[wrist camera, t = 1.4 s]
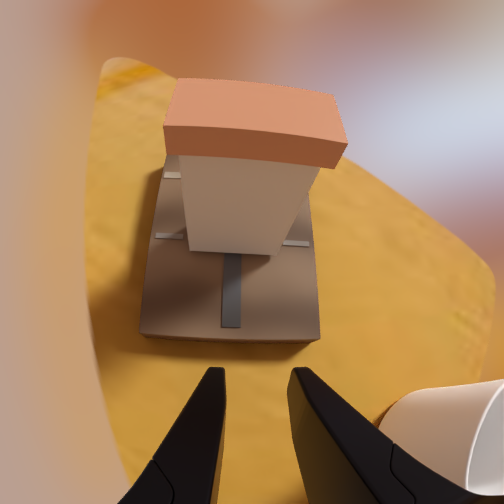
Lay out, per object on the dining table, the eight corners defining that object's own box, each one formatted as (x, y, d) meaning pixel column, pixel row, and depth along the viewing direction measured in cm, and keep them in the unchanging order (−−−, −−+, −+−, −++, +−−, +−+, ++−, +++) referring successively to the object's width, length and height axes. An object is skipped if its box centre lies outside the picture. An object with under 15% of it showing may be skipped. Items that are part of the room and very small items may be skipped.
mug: (391, 522, 15) (470, 560, 5) (356, 421, 19) (454, 434, 9) (458, 469, 17) (541, 477, 7) (433, 371, 21) (528, 350, 11)
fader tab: (282, 261, 21) (348, 143, 10) (183, 255, 20) (163, 125, 10) (280, 220, 22) (333, 95, 12) (187, 215, 21) (178, 78, 11)
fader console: (310, 342, 21) (320, 338, 19) (145, 337, 20) (138, 332, 18) (298, 172, 27) (304, 158, 26) (169, 163, 26) (168, 148, 24)
